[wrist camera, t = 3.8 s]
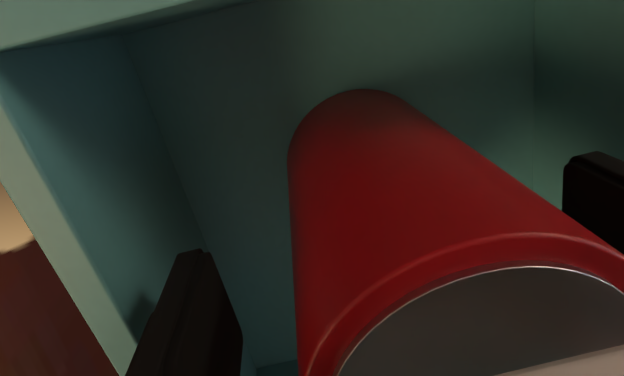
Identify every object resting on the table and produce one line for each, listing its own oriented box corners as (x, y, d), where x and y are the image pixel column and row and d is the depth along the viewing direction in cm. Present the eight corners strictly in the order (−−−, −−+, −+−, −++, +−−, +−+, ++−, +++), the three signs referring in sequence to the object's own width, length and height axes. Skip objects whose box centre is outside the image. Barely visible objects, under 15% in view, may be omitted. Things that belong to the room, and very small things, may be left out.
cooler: (95, 12, 14) (-106, 13, 7) (544, -102, 13) (854, -234, 6) (245, 369, 21) (228, 556, 14) (538, 302, 21) (676, 456, 14)
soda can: (269, 109, 15) (252, 300, 5) (423, 71, 15) (714, 192, 5) (305, 239, 17) (341, 541, 7) (437, 208, 17) (651, 472, 7)
